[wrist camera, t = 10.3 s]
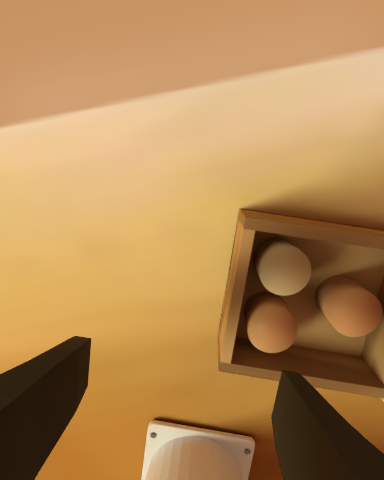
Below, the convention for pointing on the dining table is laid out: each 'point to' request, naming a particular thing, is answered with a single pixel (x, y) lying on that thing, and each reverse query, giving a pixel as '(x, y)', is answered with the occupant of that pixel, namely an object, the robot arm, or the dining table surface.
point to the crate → (305, 303)
